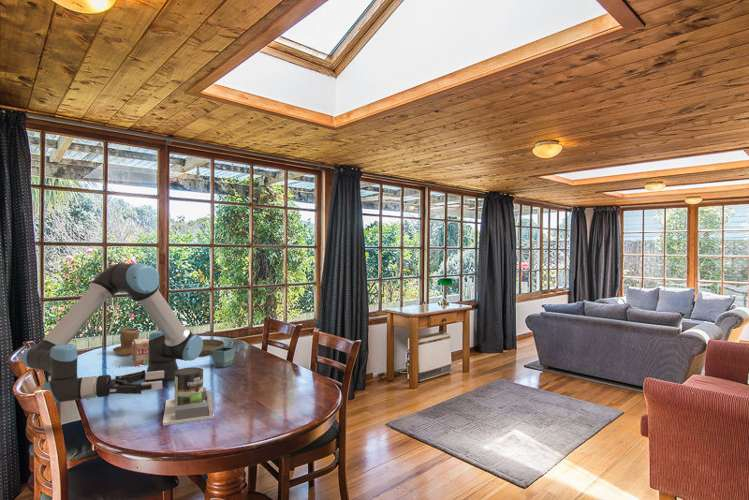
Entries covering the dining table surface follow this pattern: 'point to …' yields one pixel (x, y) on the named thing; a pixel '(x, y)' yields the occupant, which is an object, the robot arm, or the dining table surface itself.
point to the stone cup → (126, 341)
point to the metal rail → (209, 403)
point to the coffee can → (188, 386)
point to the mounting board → (170, 414)
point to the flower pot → (223, 356)
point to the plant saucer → (210, 346)
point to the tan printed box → (140, 351)
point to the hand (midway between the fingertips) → (163, 379)
